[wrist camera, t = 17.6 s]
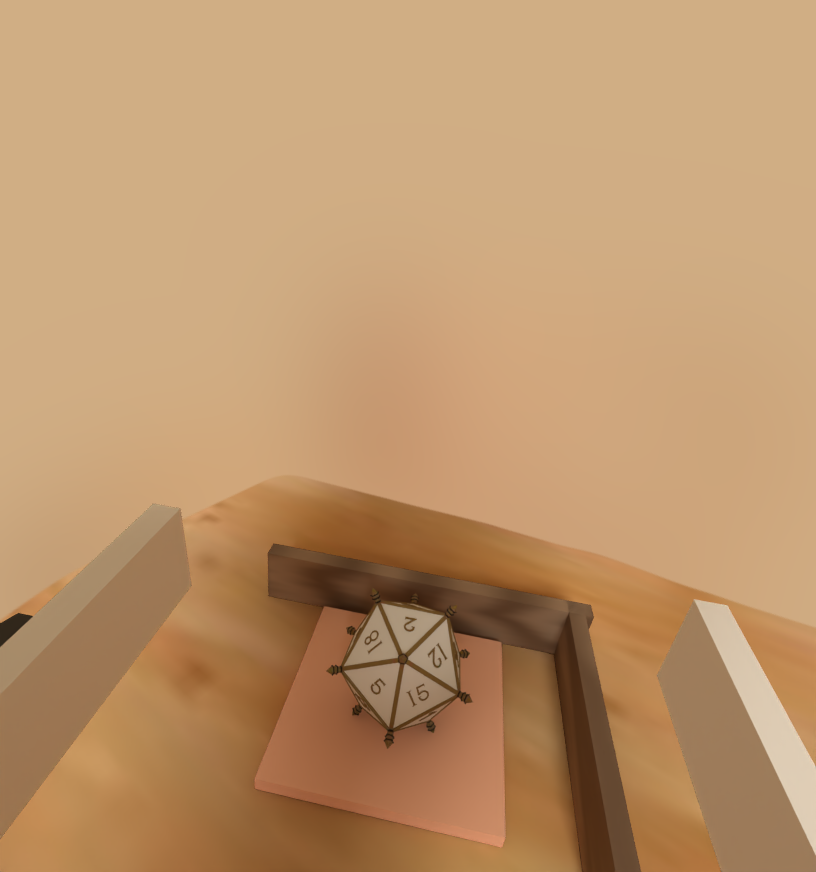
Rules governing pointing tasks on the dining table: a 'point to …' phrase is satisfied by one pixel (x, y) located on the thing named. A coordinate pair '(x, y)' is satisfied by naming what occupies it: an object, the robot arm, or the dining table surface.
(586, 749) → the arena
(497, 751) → the mat
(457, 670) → the game die
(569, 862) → the dining table surface
